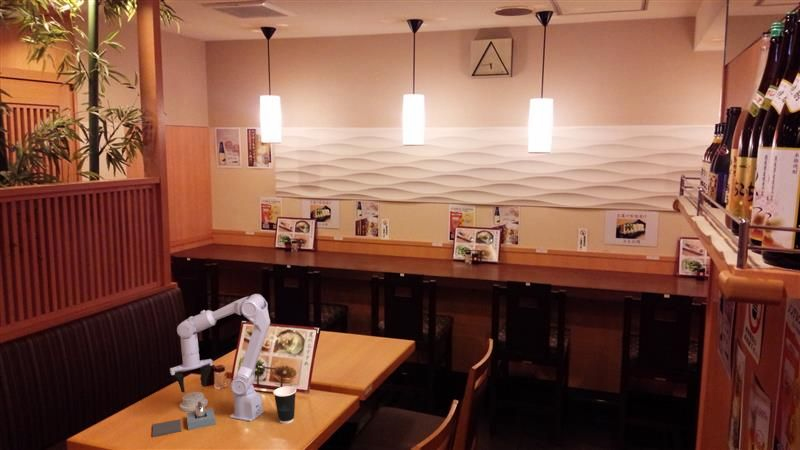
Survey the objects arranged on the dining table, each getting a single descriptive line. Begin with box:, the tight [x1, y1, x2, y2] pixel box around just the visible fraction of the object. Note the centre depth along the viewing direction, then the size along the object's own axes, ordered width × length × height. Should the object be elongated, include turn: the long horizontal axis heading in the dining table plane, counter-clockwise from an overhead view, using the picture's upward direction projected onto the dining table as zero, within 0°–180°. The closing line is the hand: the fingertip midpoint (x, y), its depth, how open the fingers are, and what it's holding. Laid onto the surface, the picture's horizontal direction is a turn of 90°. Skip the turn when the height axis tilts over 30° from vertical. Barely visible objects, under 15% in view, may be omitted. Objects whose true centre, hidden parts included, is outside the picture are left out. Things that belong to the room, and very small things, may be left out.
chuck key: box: [195, 401, 206, 419], centre depth 209 cm, size 3×6×7 cm, turn 22°
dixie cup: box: [272, 386, 297, 425], centre depth 207 cm, size 8×8×11 cm
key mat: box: [152, 418, 182, 438], centre depth 205 cm, size 9×9×1 cm
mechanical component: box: [179, 391, 209, 412], centre depth 223 cm, size 10×4×10 cm
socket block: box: [186, 407, 216, 431], centre depth 209 cm, size 9×9×2 cm
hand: (193, 388), depth 213 cm, fingers open, 7 cm apart
